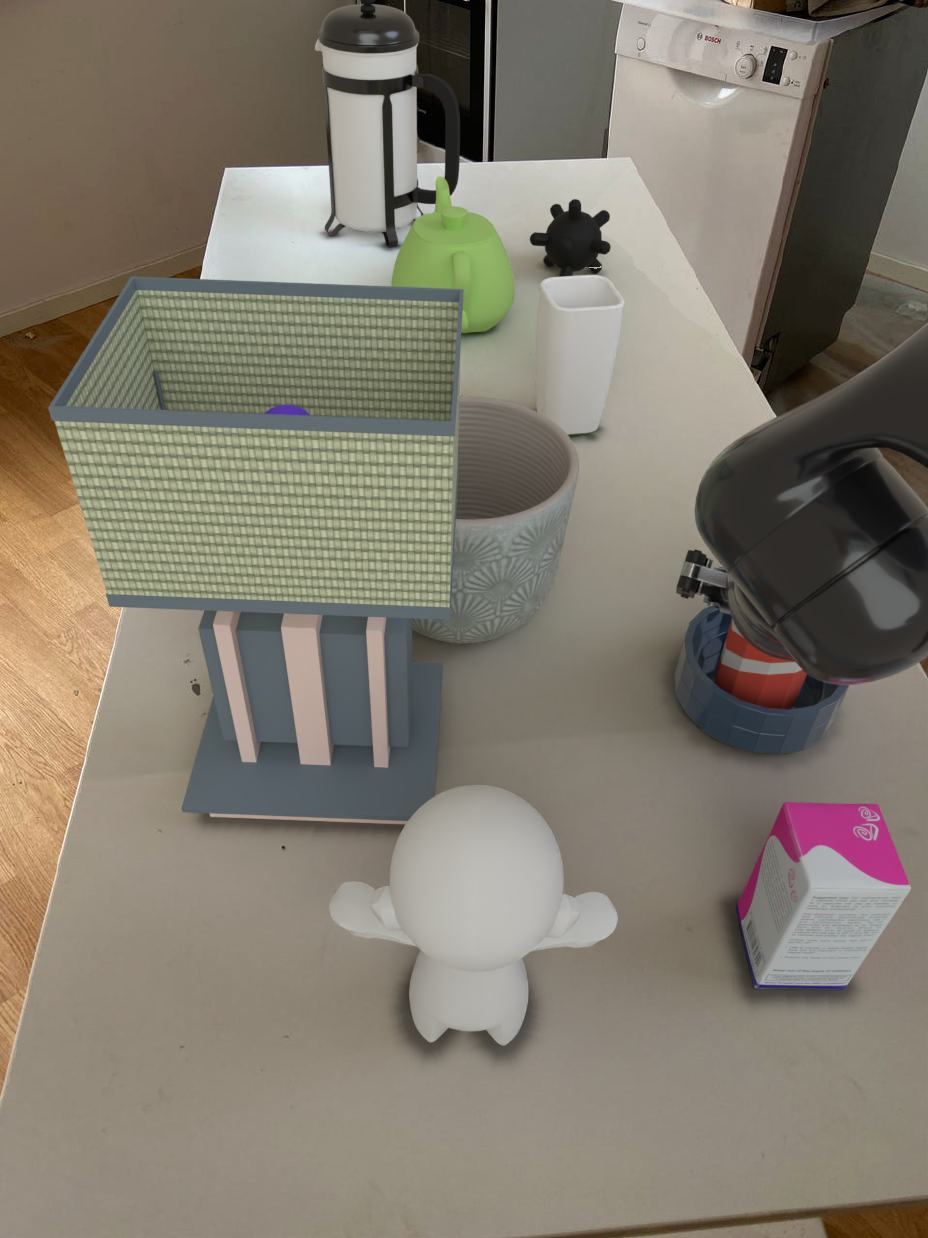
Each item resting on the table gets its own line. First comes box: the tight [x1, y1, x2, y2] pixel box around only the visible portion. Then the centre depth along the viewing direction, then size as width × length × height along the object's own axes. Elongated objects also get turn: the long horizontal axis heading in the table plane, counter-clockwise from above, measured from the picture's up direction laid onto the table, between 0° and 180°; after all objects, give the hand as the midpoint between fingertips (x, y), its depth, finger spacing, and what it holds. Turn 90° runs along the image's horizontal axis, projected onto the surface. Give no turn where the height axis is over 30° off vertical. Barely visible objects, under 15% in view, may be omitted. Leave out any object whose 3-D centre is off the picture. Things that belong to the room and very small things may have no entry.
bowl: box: [673, 606, 850, 755], centre depth 74 cm, size 12×12×5 cm
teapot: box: [390, 176, 515, 334], centre depth 117 cm, size 22×15×13 cm
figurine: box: [328, 784, 619, 1047], centre depth 50 cm, size 16×8×20 cm, turn 88°
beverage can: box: [715, 619, 807, 709], centre depth 72 cm, size 6×6×12 cm
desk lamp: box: [47, 276, 464, 825], centre depth 60 cm, size 18×14×33 cm
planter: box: [412, 395, 580, 645], centre depth 78 cm, size 17×17×15 cm
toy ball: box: [529, 198, 611, 277], centre depth 128 cm, size 11×11×12 cm
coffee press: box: [314, 0, 461, 248], centre depth 130 cm, size 17×16×30 cm
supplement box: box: [735, 801, 912, 990], centre depth 57 cm, size 6×6×12 cm
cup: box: [534, 274, 626, 437], centre depth 99 cm, size 7×7×15 cm
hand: (784, 612), depth 68 cm, fingers open, 8 cm apart
